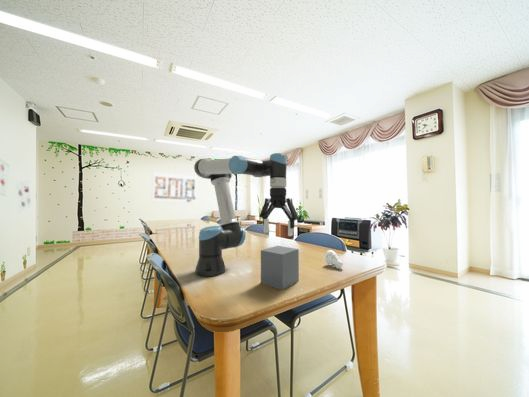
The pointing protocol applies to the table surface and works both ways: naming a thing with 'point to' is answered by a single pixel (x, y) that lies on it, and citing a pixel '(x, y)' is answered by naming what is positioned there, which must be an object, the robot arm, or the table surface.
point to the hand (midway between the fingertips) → (277, 234)
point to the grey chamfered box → (279, 266)
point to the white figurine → (333, 259)
